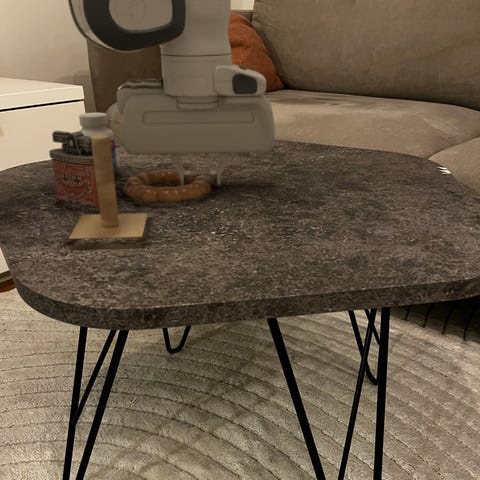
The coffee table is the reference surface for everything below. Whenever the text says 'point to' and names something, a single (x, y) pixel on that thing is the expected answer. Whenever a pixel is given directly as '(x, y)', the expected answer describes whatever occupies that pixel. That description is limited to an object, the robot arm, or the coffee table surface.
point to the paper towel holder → (107, 206)
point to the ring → (141, 190)
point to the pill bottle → (98, 130)
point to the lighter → (74, 168)
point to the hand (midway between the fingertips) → (201, 185)
